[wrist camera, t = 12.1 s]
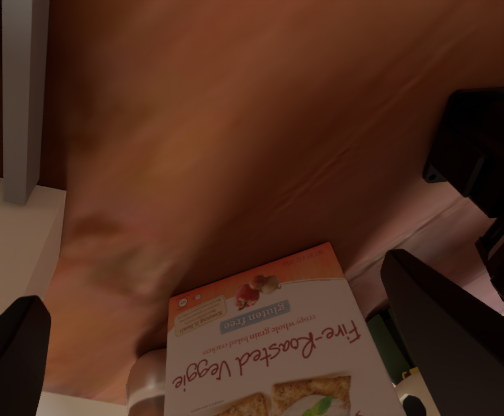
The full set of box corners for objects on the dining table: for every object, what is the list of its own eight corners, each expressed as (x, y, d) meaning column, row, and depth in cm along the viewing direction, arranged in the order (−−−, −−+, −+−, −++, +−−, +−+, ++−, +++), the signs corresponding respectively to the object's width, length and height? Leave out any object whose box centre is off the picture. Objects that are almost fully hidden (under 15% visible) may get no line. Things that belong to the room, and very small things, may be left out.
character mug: (432, 278, 34) (538, 431, 24) (448, 311, 38) (543, 453, 28) (329, 327, 36) (385, 483, 26) (355, 353, 41) (411, 496, 31)
